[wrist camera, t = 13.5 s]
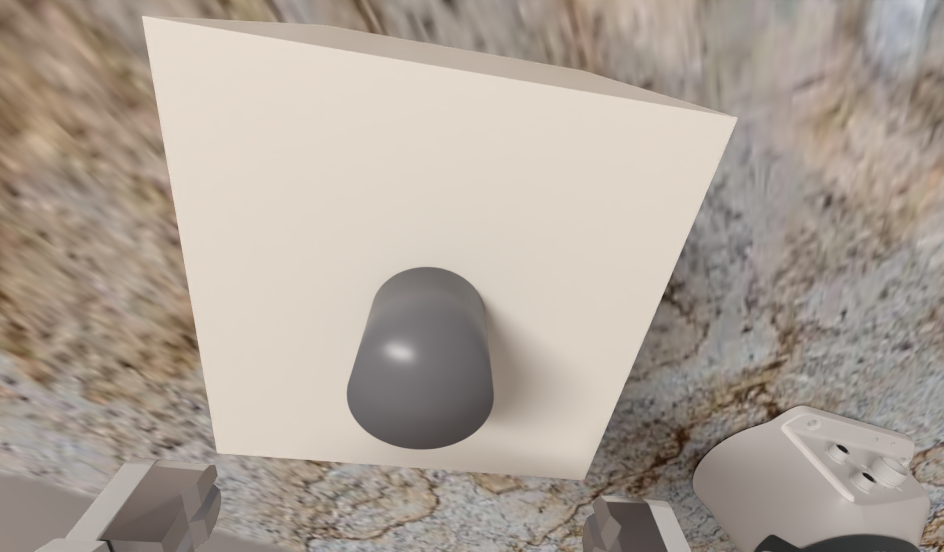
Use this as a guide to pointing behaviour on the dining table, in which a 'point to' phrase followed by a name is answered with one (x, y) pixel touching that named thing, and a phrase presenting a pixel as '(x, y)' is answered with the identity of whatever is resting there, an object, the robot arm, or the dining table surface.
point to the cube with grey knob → (418, 241)
